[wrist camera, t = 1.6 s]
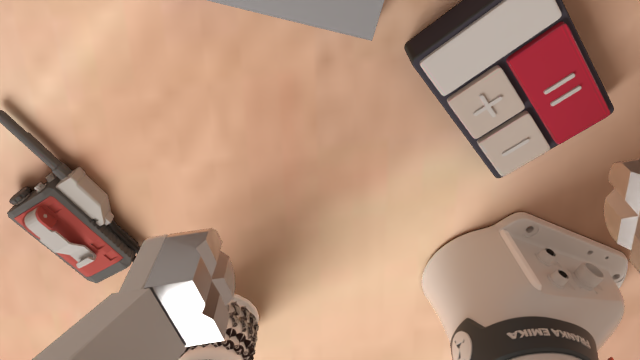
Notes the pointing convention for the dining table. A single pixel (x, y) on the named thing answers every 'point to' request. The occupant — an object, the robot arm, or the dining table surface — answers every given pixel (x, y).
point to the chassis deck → (320, 13)
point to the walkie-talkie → (71, 216)
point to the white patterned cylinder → (231, 335)
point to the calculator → (510, 77)
